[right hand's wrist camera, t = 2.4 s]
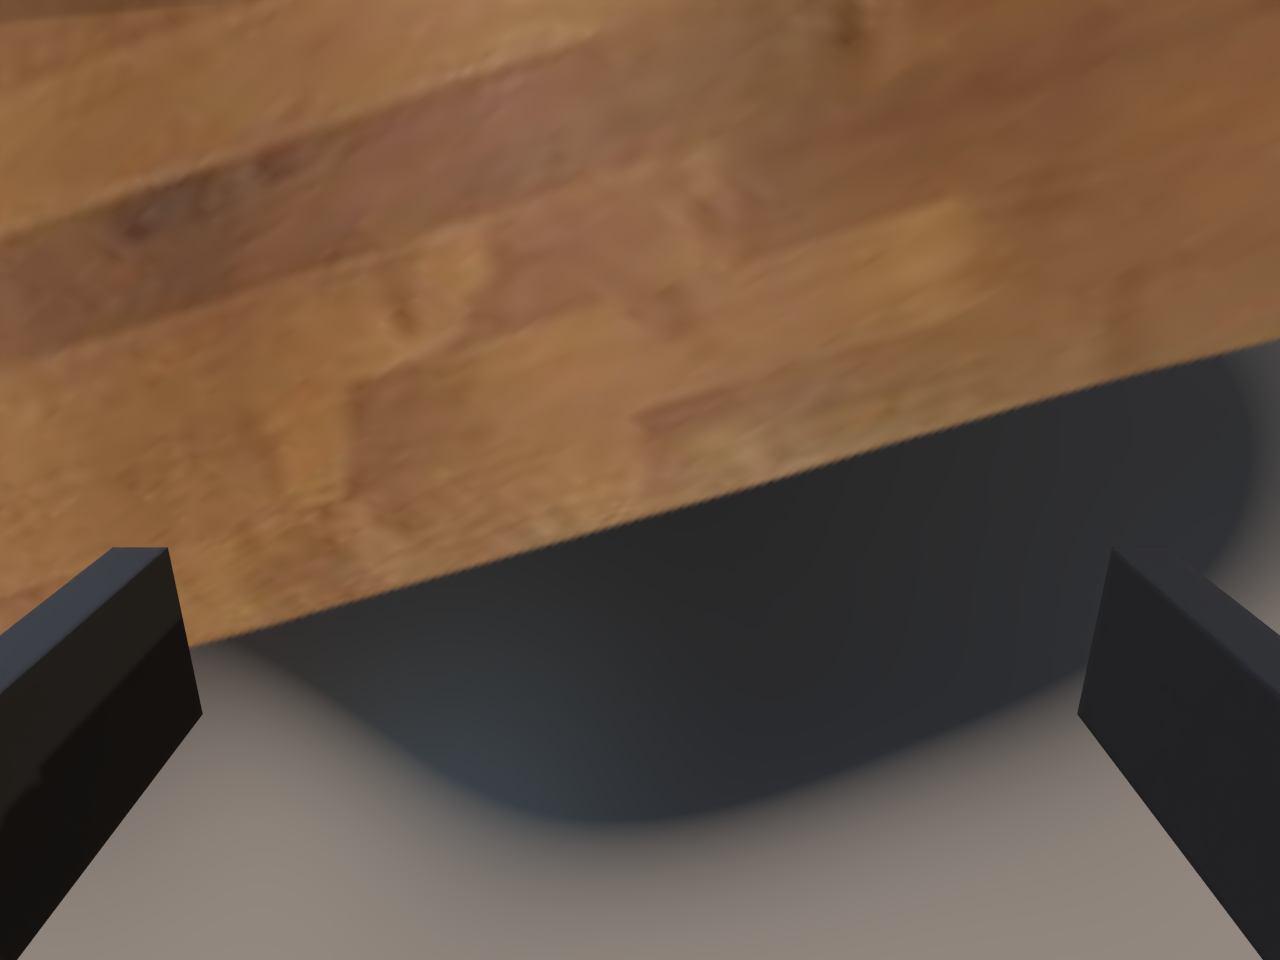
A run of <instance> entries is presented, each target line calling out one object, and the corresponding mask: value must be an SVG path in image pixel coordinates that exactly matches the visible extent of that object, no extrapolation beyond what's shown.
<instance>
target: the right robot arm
mask: <svg viewBox="0 0 1280 960" xmlns="http://www.w3.org/2000/svg"><path fill="white" fill-rule="evenodd" d="M202 714H203V713H202V709H201V704H200V699H199V695H198V690H197V685H196V680H195V675H194V670H193V666H192V661H191V656H190V651H189V647H188V642H187V637H186V632H185V627H184V623H183V618H182V613H181V608H180V604H179V599H178V594H177V589H176V584H175V580H174V575H173V570H172V565H171V560H170V556H169V551H168V548H112V549H110V550H109V551H108V552H106V553H105V554H104V555H103V556H101V557H100V558H99V559H97V560H96V561H95V562H94V563H92V564H91V565H90V566H89V567H87V568H86V569H85V570H83V571H82V572H81V573H80V574H78V575H77V576H76V577H74V578H73V579H72V580H71V581H69V582H68V583H67V584H65V585H64V586H63V587H62V588H60V589H59V590H58V591H57V592H55V593H54V594H53V595H51V596H50V597H49V598H48V599H46V600H45V601H44V602H42V603H41V604H40V605H39V606H37V607H36V608H35V609H34V610H32V611H31V612H30V613H28V614H27V615H26V616H25V617H23V618H22V619H21V620H19V621H18V622H17V623H16V624H14V625H13V626H12V627H11V628H9V629H8V630H7V631H5V632H4V633H3V634H2V635H0V960H17V959H18V958H19V956H20V955H21V954H22V953H23V951H24V950H25V949H26V947H27V946H28V945H29V943H30V942H31V941H32V939H33V938H34V937H35V935H36V934H37V933H38V931H39V930H40V929H41V927H42V926H43V925H44V923H45V922H46V921H47V919H48V918H49V917H50V915H51V914H52V913H53V911H54V910H55V909H56V907H57V906H58V905H59V904H60V902H61V901H62V900H63V898H64V897H65V896H66V894H67V893H68V892H69V890H70V889H71V888H72V886H73V885H74V884H75V882H76V881H77V880H78V878H79V877H80V876H81V874H82V873H83V872H84V870H85V869H86V868H87V866H88V865H89V864H90V862H91V861H92V860H93V859H94V857H95V856H96V855H97V853H98V852H99V851H100V849H101V848H102V847H103V845H104V844H105V843H106V841H107V840H108V839H109V837H110V836H111V835H112V833H113V832H114V831H115V829H116V828H117V827H118V825H119V824H120V823H121V821H122V820H123V819H124V817H125V816H126V815H127V814H128V812H129V811H130V810H131V808H132V807H133V805H134V804H135V803H136V802H137V800H138V799H139V798H140V796H141V795H142V794H143V792H144V791H145V790H146V788H147V787H148V786H149V784H150V783H151V782H152V780H153V779H154V778H155V776H156V775H157V774H158V772H159V771H160V770H161V768H162V767H163V766H164V765H165V763H166V762H167V761H168V759H169V758H170V756H171V755H172V754H173V753H174V751H175V750H176V749H177V747H178V746H179V745H180V743H181V742H182V741H183V739H184V738H185V737H186V735H187V734H188V733H189V731H190V730H191V729H192V727H193V726H194V725H195V723H196V722H197V721H198V719H199V718H200V717H201V716H202ZM1078 716H1079V717H1080V718H1081V719H1082V721H1083V722H1084V723H1085V725H1086V726H1087V727H1088V729H1089V730H1090V731H1091V733H1092V734H1093V735H1094V737H1095V738H1096V739H1097V741H1098V742H1099V743H1100V745H1101V746H1102V747H1103V749H1104V750H1105V751H1106V753H1107V754H1108V755H1109V757H1110V758H1111V759H1112V761H1113V762H1114V763H1115V765H1116V766H1117V767H1118V768H1119V770H1120V771H1121V772H1122V774H1123V775H1124V776H1125V778H1126V779H1127V780H1128V782H1129V783H1130V784H1131V786H1132V787H1133V788H1134V790H1135V791H1136V792H1137V794H1138V795H1139V796H1140V798H1141V799H1142V800H1143V802H1144V803H1145V804H1146V806H1147V807H1148V808H1149V809H1150V811H1151V812H1152V813H1153V815H1154V816H1155V817H1156V819H1157V820H1158V821H1159V823H1160V824H1161V825H1162V827H1163V828H1164V829H1165V831H1166V832H1167V833H1168V835H1169V836H1170V837H1171V839H1172V840H1173V841H1174V843H1175V844H1176V845H1177V847H1178V848H1179V849H1180V851H1181V852H1182V853H1183V855H1184V856H1185V857H1186V859H1187V860H1188V861H1189V862H1190V864H1191V865H1192V866H1193V868H1194V869H1195V870H1196V872H1197V873H1198V874H1199V876H1200V877H1201V878H1202V880H1203V881H1204V882H1205V884H1206V885H1207V886H1208V888H1209V889H1210V890H1211V892H1212V893H1213V894H1214V896H1215V897H1216V898H1217V900H1218V901H1219V902H1220V904H1221V905H1222V906H1223V907H1224V909H1225V910H1226V911H1227V913H1228V914H1229V915H1230V917H1231V918H1232V919H1233V921H1234V922H1235V923H1236V925H1237V926H1238V927H1239V929H1240V930H1241V931H1242V933H1243V934H1244V935H1245V937H1246V938H1247V939H1248V941H1249V942H1250V943H1251V945H1252V946H1253V947H1254V949H1255V950H1256V951H1257V953H1258V954H1259V955H1260V956H1261V958H1262V959H1263V960H1280V635H1278V634H1277V633H1276V632H1275V631H1273V630H1272V629H1271V628H1269V627H1268V626H1267V625H1266V624H1264V623H1263V622H1262V621H1261V620H1259V619H1258V618H1257V617H1255V616H1254V615H1253V614H1252V613H1250V612H1249V611H1248V610H1246V609H1245V608H1244V607H1243V606H1241V605H1240V604H1239V603H1237V602H1236V601H1235V600H1234V599H1232V598H1231V597H1230V596H1229V595H1227V594H1226V593H1225V592H1223V591H1222V590H1221V589H1220V588H1218V587H1217V586H1216V585H1215V584H1213V583H1212V582H1211V581H1209V580H1208V579H1207V578H1206V577H1204V576H1203V575H1202V574H1200V573H1199V572H1198V571H1197V570H1195V569H1194V568H1193V567H1191V566H1190V565H1189V564H1188V563H1186V562H1185V561H1184V560H1183V559H1181V558H1180V557H1179V556H1177V555H1176V554H1175V553H1174V552H1172V551H1171V550H1170V549H1168V548H1112V551H1111V556H1110V560H1109V565H1108V570H1107V575H1106V580H1105V585H1104V589H1103V594H1102V599H1101V604H1100V608H1099V613H1098V618H1097V623H1096V628H1095V632H1094V637H1093V642H1092V647H1091V651H1090V656H1089V661H1088V666H1087V670H1086V675H1085V680H1084V685H1083V690H1082V695H1081V699H1080V704H1079V709H1078Z"/></svg>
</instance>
